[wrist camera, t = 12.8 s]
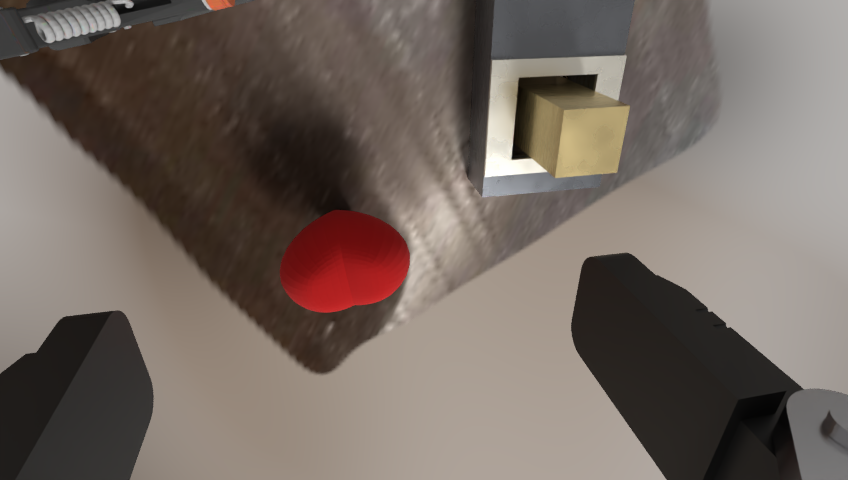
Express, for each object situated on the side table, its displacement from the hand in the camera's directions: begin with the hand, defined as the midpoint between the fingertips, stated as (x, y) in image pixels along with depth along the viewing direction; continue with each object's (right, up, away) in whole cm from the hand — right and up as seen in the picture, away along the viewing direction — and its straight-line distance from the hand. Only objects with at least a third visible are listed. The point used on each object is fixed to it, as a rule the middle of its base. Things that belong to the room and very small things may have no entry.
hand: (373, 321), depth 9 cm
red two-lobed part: (-6, +3, +32) cm, 33 cm away
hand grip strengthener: (-15, +17, +22) cm, 32 cm away
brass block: (+9, +12, +31) cm, 34 cm away
